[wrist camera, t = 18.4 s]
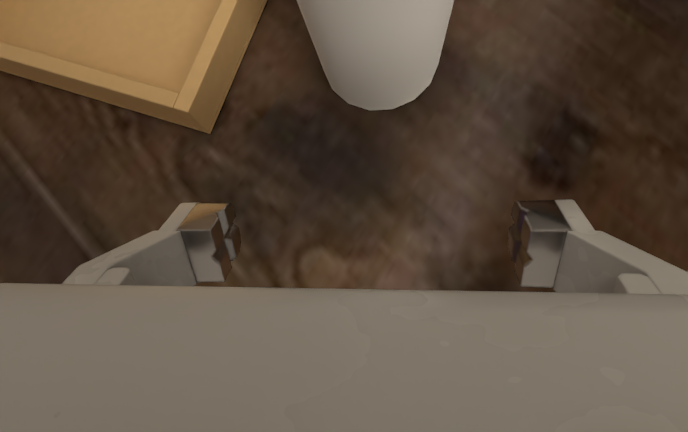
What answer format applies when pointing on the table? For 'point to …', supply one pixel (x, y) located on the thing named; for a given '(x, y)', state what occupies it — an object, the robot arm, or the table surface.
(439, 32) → the white tumbler
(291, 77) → the table surface
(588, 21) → the table surface
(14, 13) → the tray
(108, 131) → the table surface
